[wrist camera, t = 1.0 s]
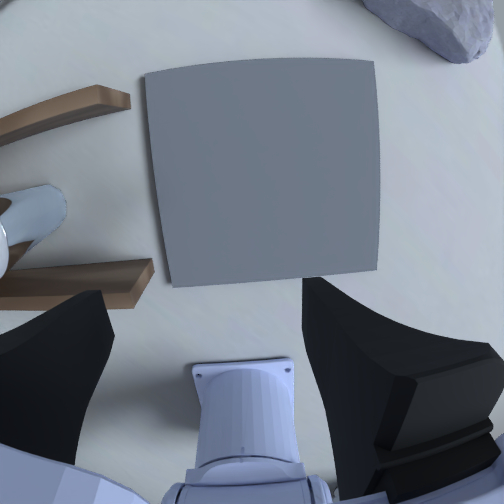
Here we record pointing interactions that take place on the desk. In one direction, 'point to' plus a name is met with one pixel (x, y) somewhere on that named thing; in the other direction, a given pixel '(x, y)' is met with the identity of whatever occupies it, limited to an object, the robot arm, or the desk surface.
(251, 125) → the mat
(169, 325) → the desk surface
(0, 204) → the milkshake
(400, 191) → the desk surface
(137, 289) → the open box
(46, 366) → the robot arm
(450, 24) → the stone block
